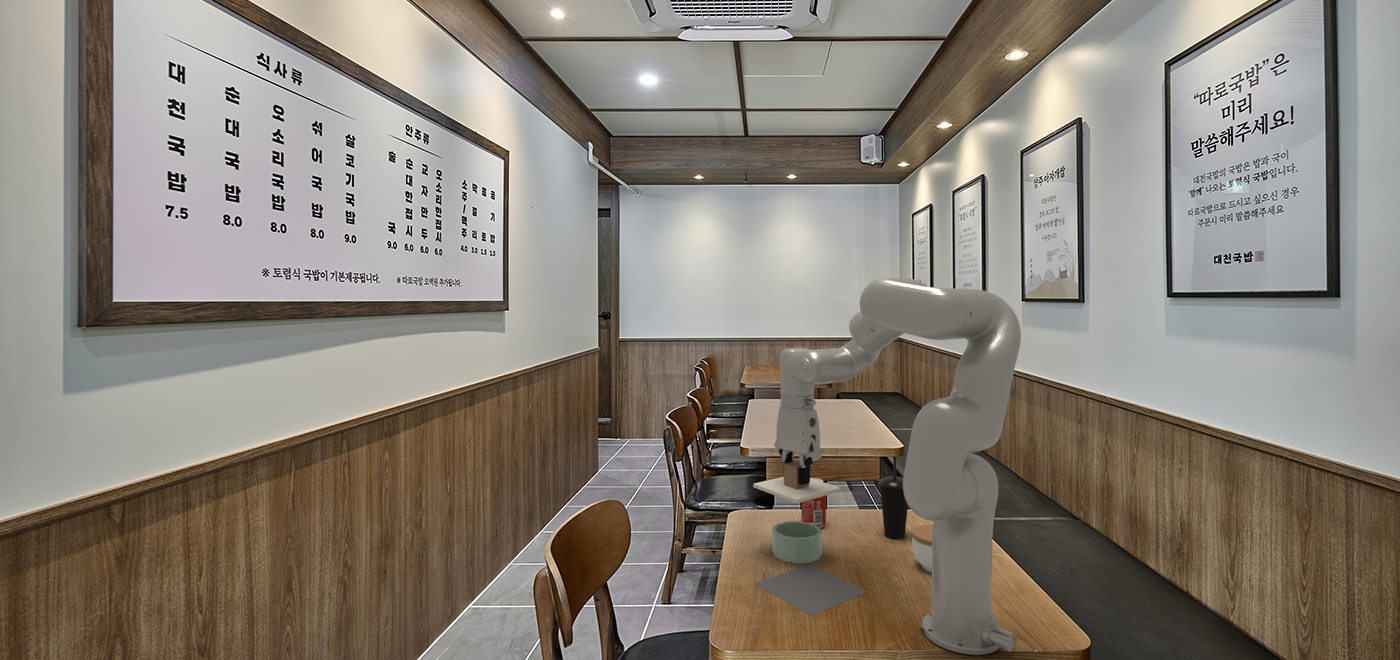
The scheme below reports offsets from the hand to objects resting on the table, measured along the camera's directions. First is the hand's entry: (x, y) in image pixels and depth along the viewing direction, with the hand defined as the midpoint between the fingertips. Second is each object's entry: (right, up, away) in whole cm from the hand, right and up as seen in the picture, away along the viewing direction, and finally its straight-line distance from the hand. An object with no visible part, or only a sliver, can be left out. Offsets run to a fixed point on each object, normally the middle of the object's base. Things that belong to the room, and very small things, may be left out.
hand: (796, 480), depth 135 cm
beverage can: (+8, -17, +20) cm, 27 cm away
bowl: (0, -18, +1) cm, 18 cm away
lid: (0, -2, 0) cm, 2 cm away
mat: (0, -18, -16) cm, 24 cm away
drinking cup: (+26, -17, +12) cm, 34 cm away
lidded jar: (+30, -18, -6) cm, 35 cm away
